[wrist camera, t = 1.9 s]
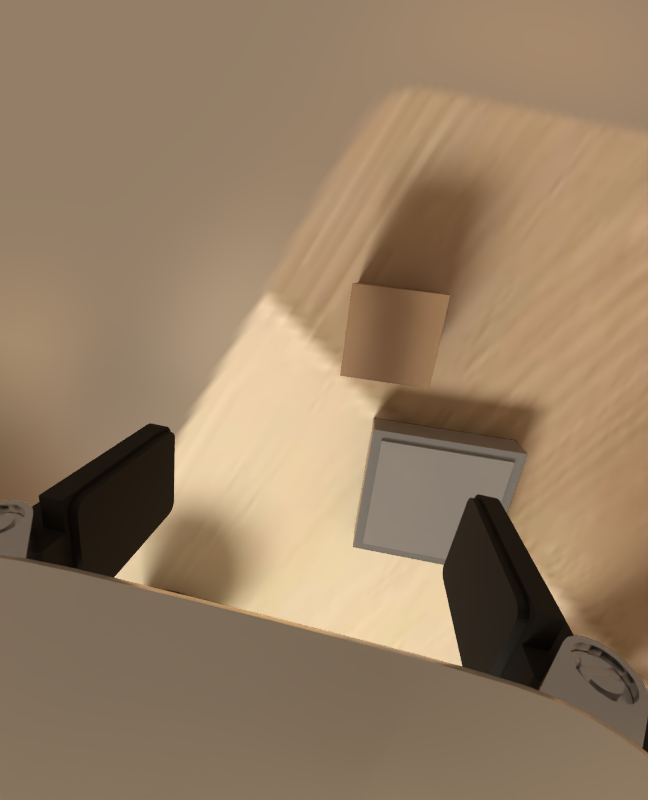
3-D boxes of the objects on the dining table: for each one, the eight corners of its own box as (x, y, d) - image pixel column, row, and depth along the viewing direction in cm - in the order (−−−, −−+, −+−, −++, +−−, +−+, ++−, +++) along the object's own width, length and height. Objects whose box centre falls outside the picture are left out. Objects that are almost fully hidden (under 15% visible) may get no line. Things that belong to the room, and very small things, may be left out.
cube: (435, 292, 27) (450, 295, 21) (419, 367, 29) (429, 388, 23) (357, 282, 28) (352, 283, 22) (347, 357, 30) (340, 375, 24)
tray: (515, 440, 30) (528, 455, 27) (478, 552, 34) (486, 574, 31) (373, 418, 31) (373, 430, 28) (354, 529, 35) (352, 548, 32)
